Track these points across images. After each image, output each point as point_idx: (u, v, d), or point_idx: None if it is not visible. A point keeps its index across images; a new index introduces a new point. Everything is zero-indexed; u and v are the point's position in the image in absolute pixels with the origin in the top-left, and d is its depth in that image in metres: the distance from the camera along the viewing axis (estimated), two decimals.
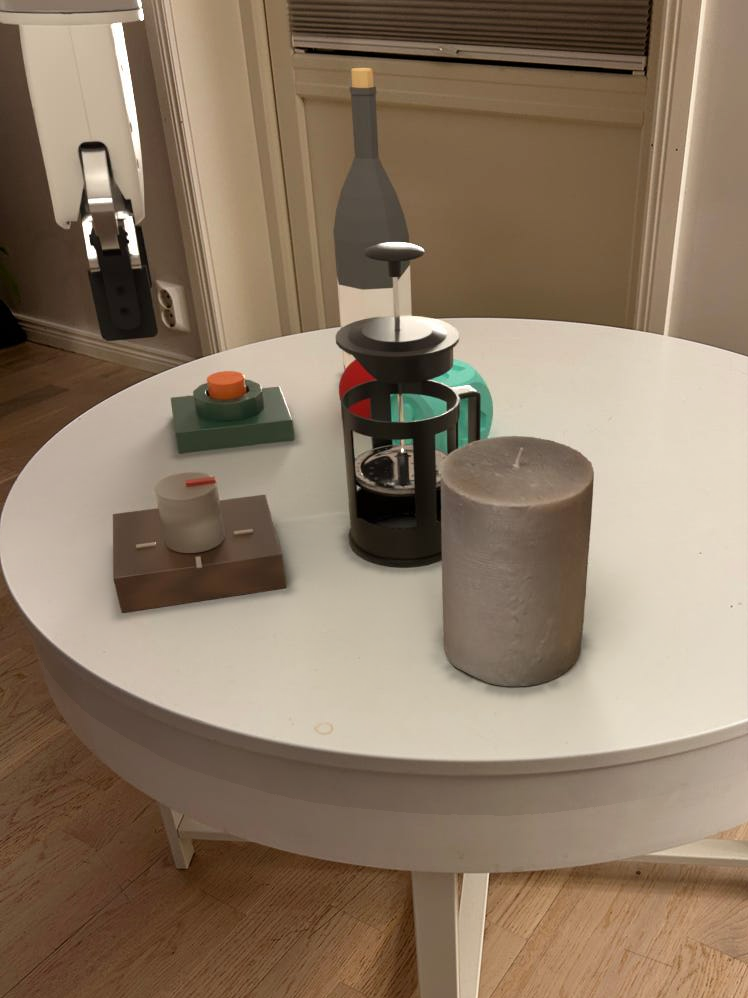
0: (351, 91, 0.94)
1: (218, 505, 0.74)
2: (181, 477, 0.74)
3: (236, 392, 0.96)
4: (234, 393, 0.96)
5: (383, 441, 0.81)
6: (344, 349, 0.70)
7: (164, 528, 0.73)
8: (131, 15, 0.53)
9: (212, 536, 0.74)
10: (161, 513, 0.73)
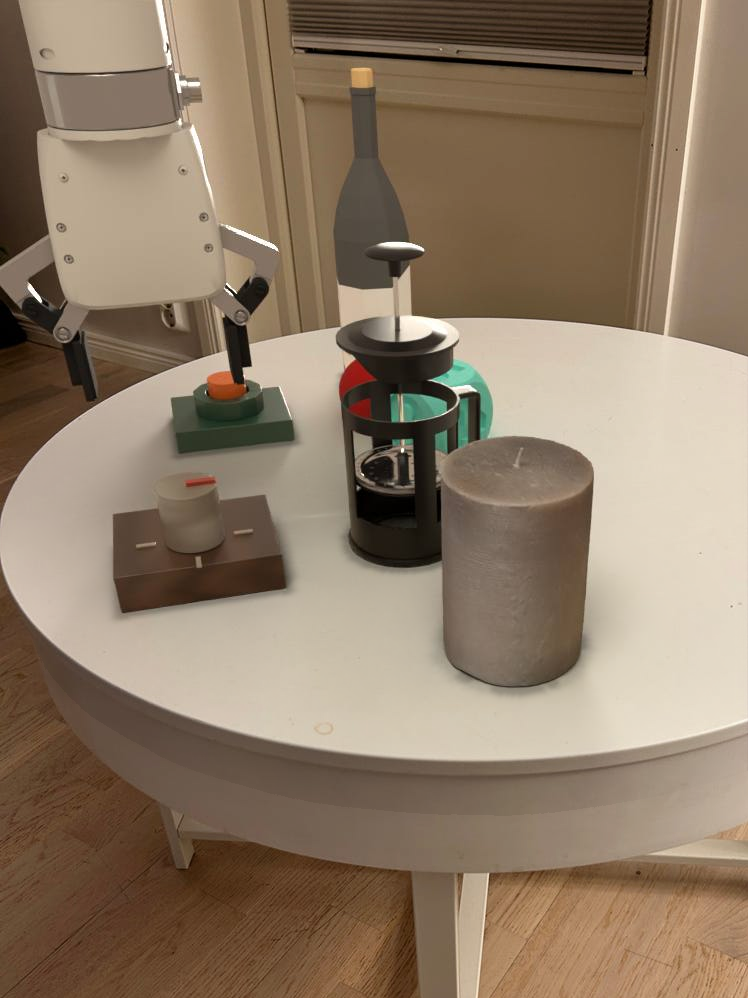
0: (351, 91, 0.94)
1: (218, 505, 0.74)
2: (181, 477, 0.74)
3: (236, 392, 0.96)
4: (234, 393, 0.96)
5: (383, 441, 0.81)
6: (344, 349, 0.70)
7: (164, 528, 0.73)
8: (78, 135, 0.56)
9: (212, 536, 0.74)
10: (161, 513, 0.73)
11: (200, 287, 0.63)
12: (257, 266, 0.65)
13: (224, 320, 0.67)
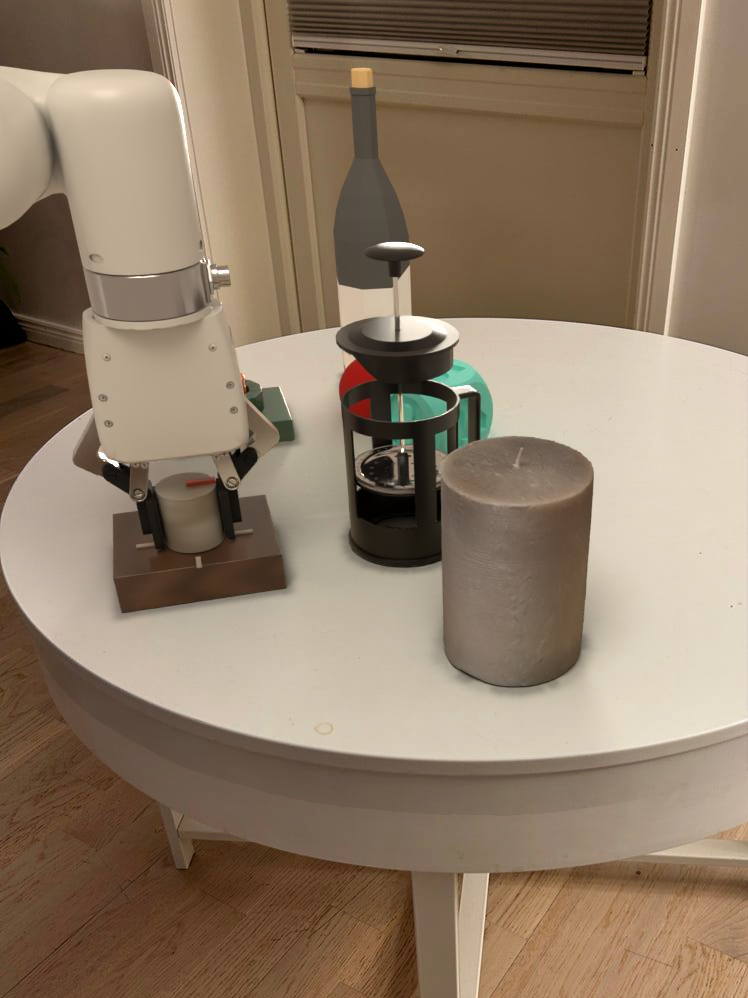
0: (351, 91, 0.94)
1: (218, 505, 0.74)
2: (181, 477, 0.74)
3: None
4: None
5: (383, 441, 0.81)
6: (344, 349, 0.70)
7: (164, 528, 0.73)
8: (120, 324, 0.62)
9: (212, 536, 0.74)
10: (161, 513, 0.73)
11: (225, 443, 0.70)
12: (256, 440, 0.72)
13: (217, 482, 0.74)
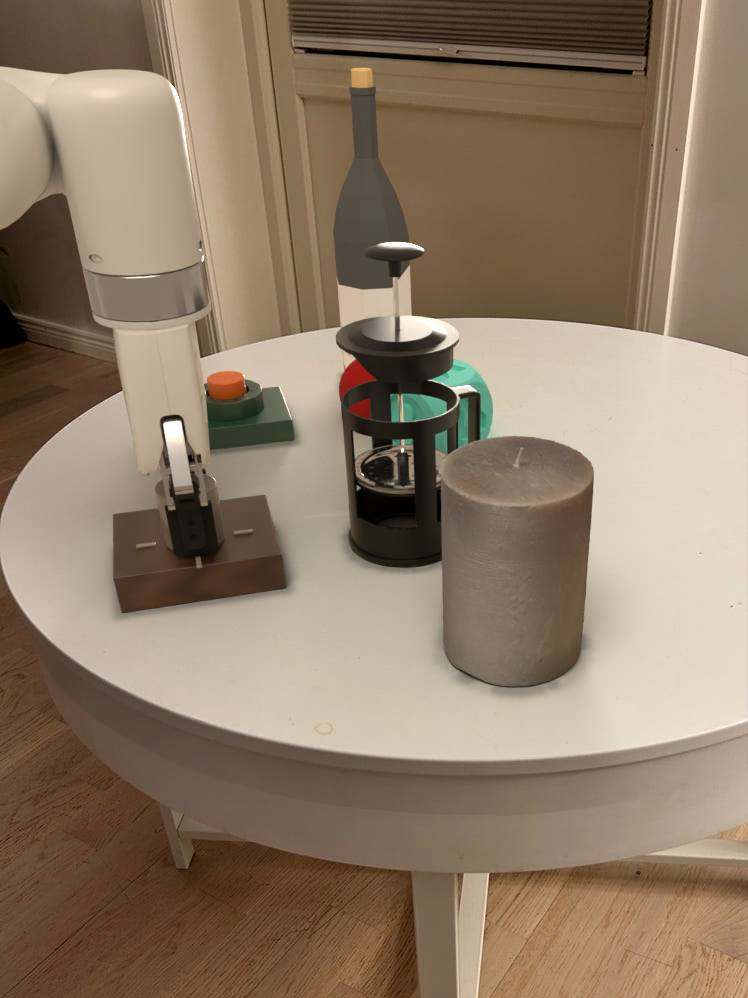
0: (351, 91, 0.94)
1: None
2: None
3: (236, 392, 0.96)
4: (234, 393, 0.96)
5: (383, 441, 0.81)
6: (344, 349, 0.70)
7: None
8: (203, 312, 0.64)
9: None
10: None
11: None
12: None
13: None
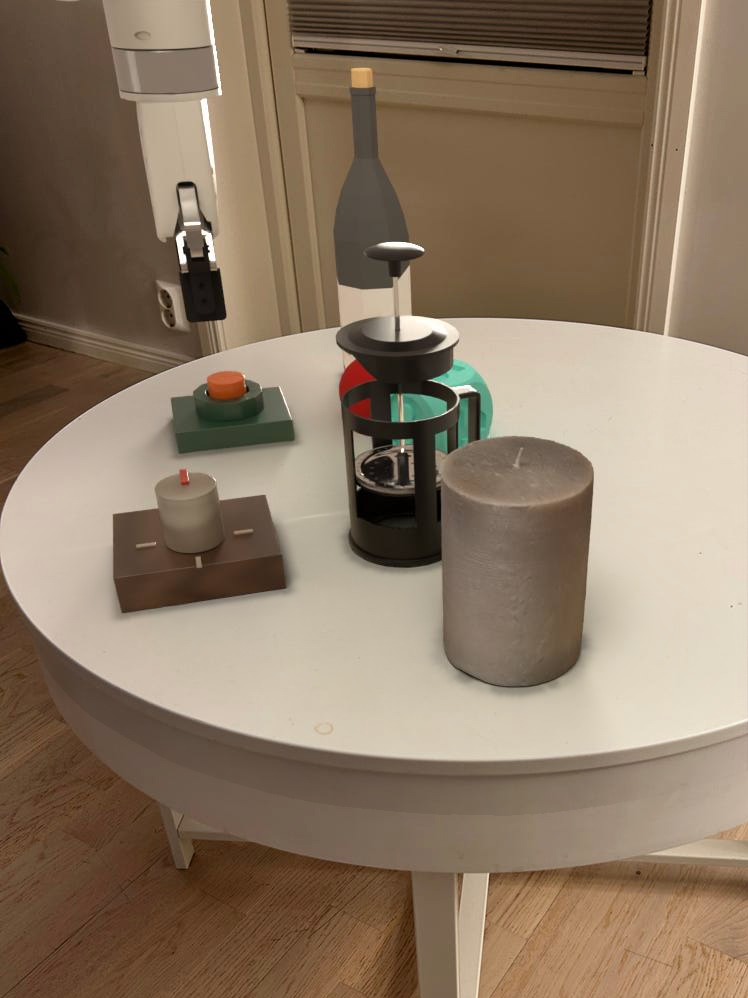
0: (351, 91, 0.94)
1: None
2: (166, 488, 0.72)
3: (236, 392, 0.96)
4: (234, 393, 0.96)
5: (383, 441, 0.81)
6: (344, 349, 0.70)
7: (205, 530, 0.73)
8: (214, 93, 0.75)
9: None
10: (203, 515, 0.72)
11: None
12: None
13: None
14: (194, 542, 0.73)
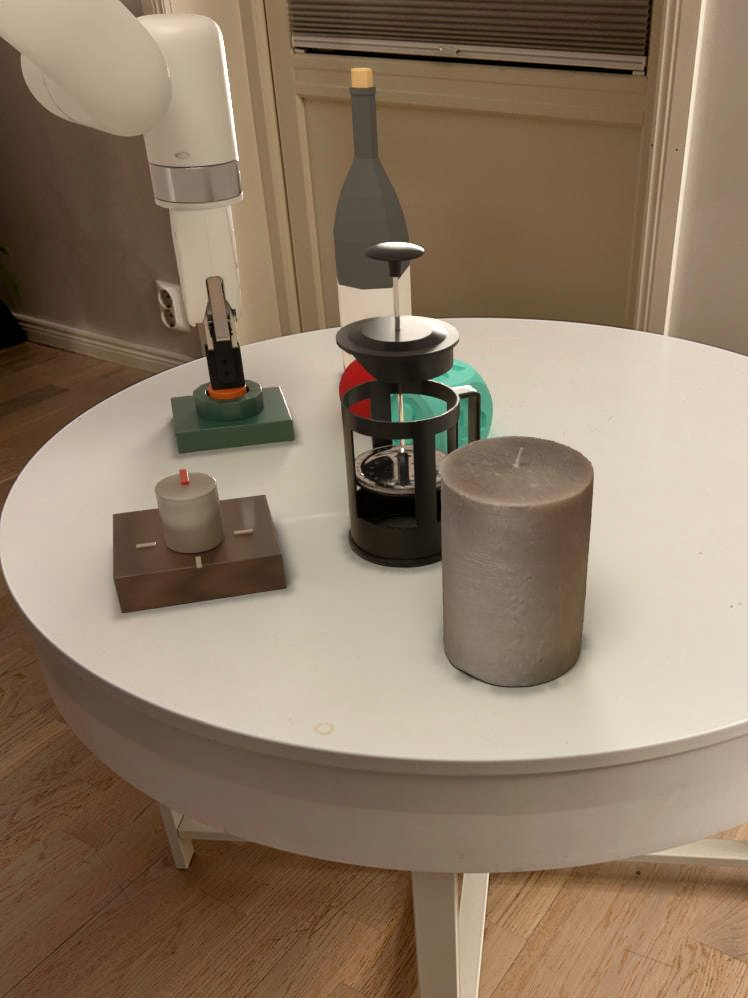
0: (351, 91, 0.94)
1: None
2: (166, 488, 0.72)
3: None
4: None
5: (383, 441, 0.81)
6: (344, 349, 0.70)
7: (205, 530, 0.73)
8: (238, 199, 0.86)
9: None
10: (203, 515, 0.72)
11: None
12: None
13: None
14: (194, 542, 0.73)
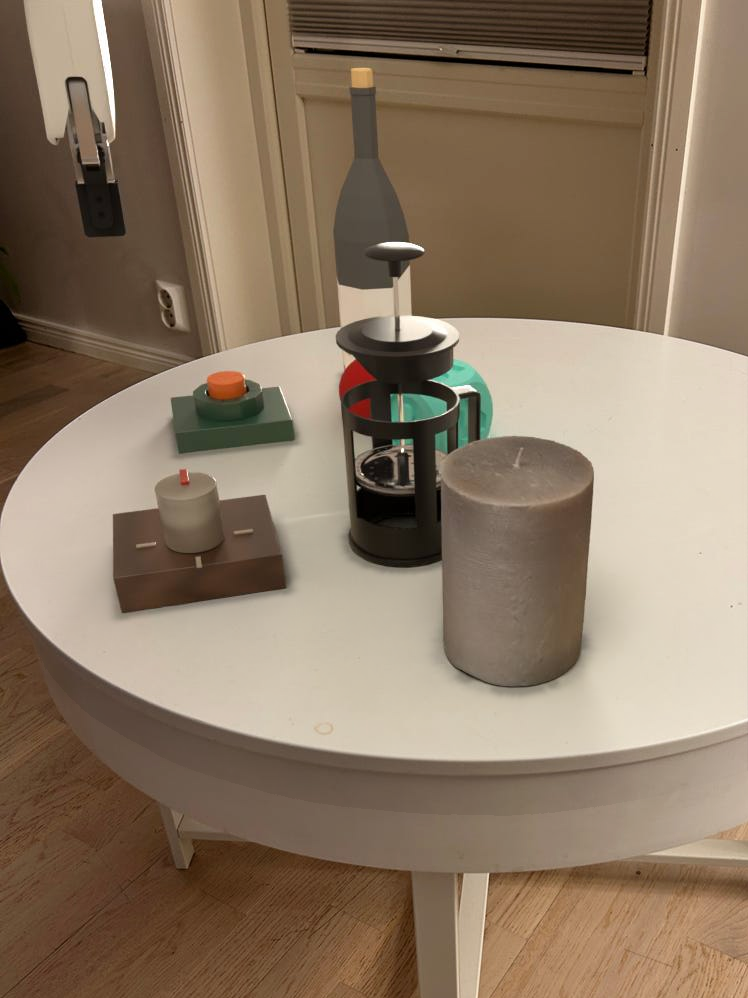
0: (351, 91, 0.94)
1: None
2: (166, 488, 0.72)
3: (236, 392, 0.96)
4: (234, 393, 0.96)
5: (383, 441, 0.81)
6: (344, 349, 0.70)
7: (205, 530, 0.73)
8: None
9: None
10: (203, 515, 0.72)
11: None
12: None
13: None
14: (194, 542, 0.73)
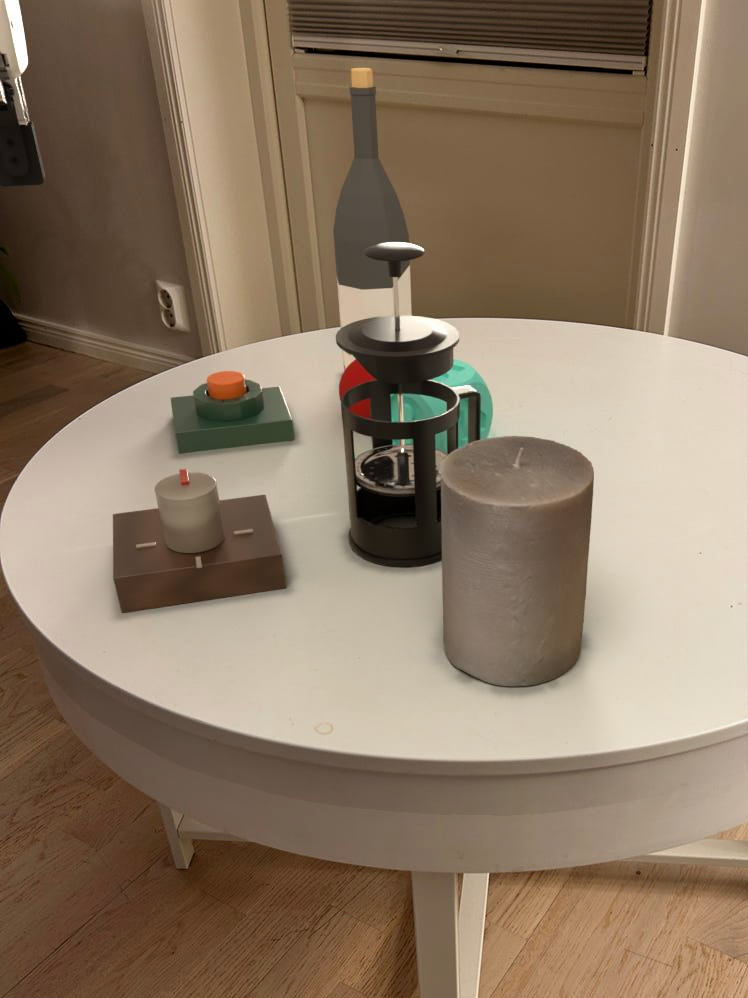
0: (351, 91, 0.94)
1: None
2: (166, 488, 0.72)
3: (236, 392, 0.96)
4: (234, 393, 0.96)
5: (383, 441, 0.81)
6: (344, 349, 0.70)
7: (205, 530, 0.73)
8: None
9: None
10: (203, 515, 0.72)
11: None
12: None
13: None
14: (194, 542, 0.73)
